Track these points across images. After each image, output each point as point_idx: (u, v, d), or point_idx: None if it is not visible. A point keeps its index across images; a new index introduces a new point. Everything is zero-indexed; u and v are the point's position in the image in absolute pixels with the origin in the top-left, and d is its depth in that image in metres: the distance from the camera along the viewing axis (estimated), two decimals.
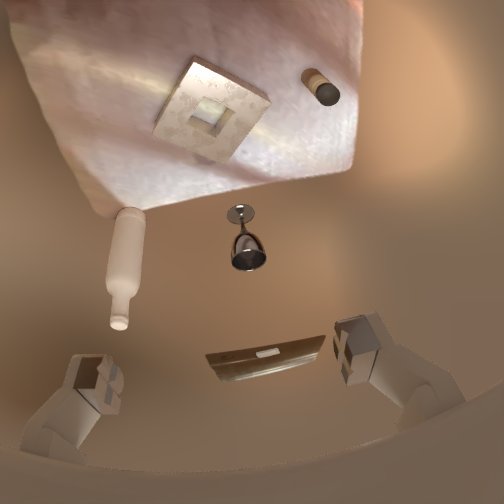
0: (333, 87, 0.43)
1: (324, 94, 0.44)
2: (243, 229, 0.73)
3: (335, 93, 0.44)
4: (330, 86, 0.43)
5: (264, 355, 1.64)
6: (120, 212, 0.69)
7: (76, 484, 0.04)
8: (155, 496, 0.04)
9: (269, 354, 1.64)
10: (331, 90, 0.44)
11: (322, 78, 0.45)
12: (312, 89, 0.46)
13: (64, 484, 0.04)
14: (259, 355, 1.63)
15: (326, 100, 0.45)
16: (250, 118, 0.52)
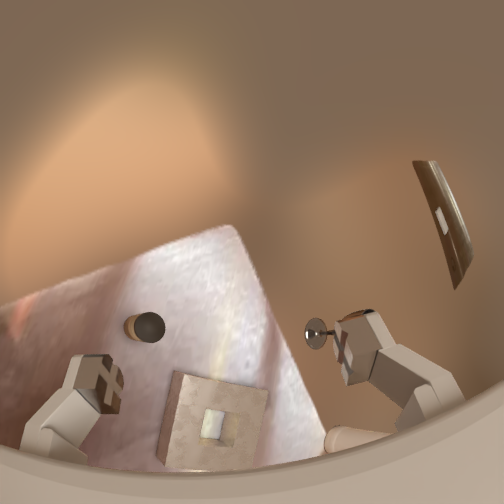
0: (137, 327, 0.36)
1: (151, 334, 0.36)
2: (334, 334, 0.60)
3: (144, 320, 0.36)
4: (137, 332, 0.35)
5: (445, 223, 1.30)
6: None
7: (76, 485, 0.04)
8: (155, 496, 0.04)
9: (443, 218, 1.30)
10: (142, 328, 0.36)
11: (131, 332, 0.38)
12: None
13: (64, 484, 0.04)
14: (446, 229, 1.29)
15: (157, 328, 0.37)
16: (208, 389, 0.43)
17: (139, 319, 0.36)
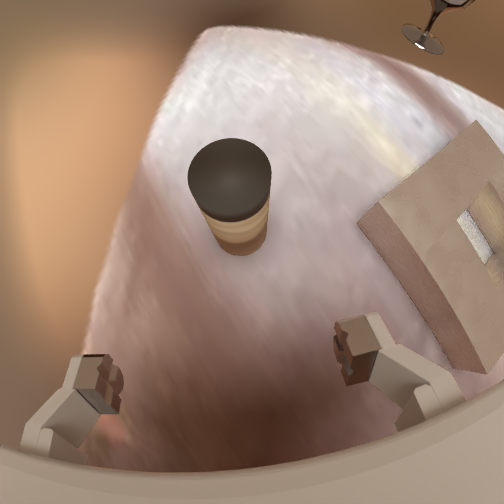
0: (204, 200, 0.14)
1: (244, 182, 0.14)
2: (438, 13, 0.23)
3: (203, 176, 0.14)
4: (214, 208, 0.14)
5: None
6: None
7: (76, 484, 0.04)
8: (155, 496, 0.04)
9: None
10: (216, 191, 0.14)
11: (224, 232, 0.17)
12: (267, 206, 0.17)
13: (64, 484, 0.04)
14: None
15: (242, 159, 0.14)
16: (428, 186, 0.19)
17: (192, 185, 0.14)
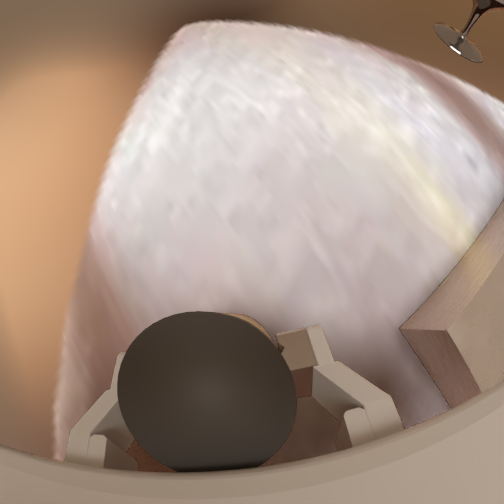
0: (159, 452, 0.06)
1: (238, 425, 0.06)
2: (481, 12, 0.15)
3: (149, 405, 0.06)
4: (181, 469, 0.05)
5: None
6: None
7: (76, 485, 0.04)
8: (155, 496, 0.04)
9: None
10: (179, 438, 0.06)
11: None
12: None
13: (64, 484, 0.04)
14: None
15: (231, 371, 0.06)
16: None
17: (130, 419, 0.06)
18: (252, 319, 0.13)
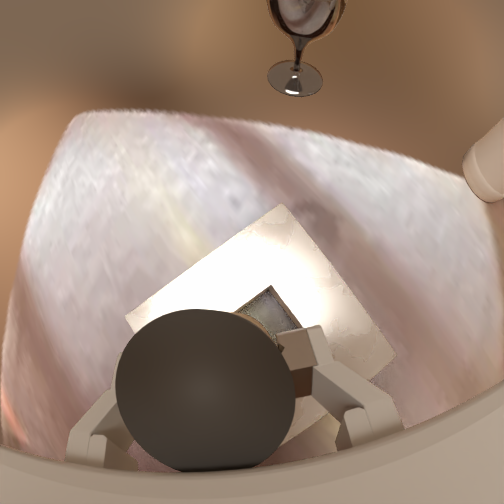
0: (157, 450, 0.06)
1: (236, 424, 0.06)
2: (299, 47, 0.27)
3: (147, 402, 0.06)
4: (179, 467, 0.05)
5: None
6: (496, 200, 0.29)
7: (76, 484, 0.04)
8: (155, 496, 0.04)
9: None
10: (177, 437, 0.06)
11: None
12: None
13: (64, 484, 0.04)
14: None
15: (229, 369, 0.06)
16: (176, 301, 0.23)
17: (128, 417, 0.06)
18: (252, 318, 0.13)
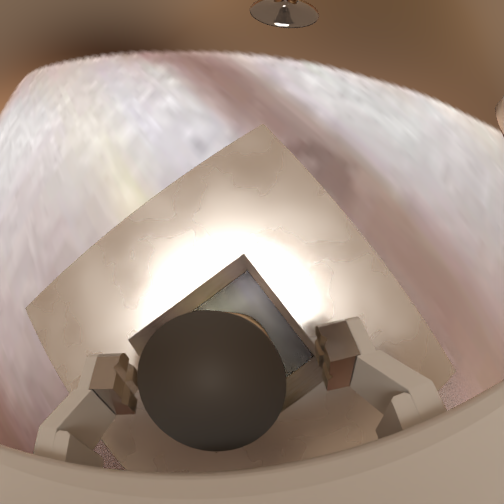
0: (172, 429, 0.07)
1: (238, 405, 0.07)
2: None
3: (164, 388, 0.07)
4: (190, 443, 0.07)
5: None
6: None
7: (76, 484, 0.04)
8: (155, 496, 0.04)
9: None
10: (189, 417, 0.07)
11: None
12: None
13: (64, 484, 0.04)
14: None
15: (232, 359, 0.07)
16: (89, 284, 0.13)
17: (148, 402, 0.07)
18: (251, 318, 0.15)
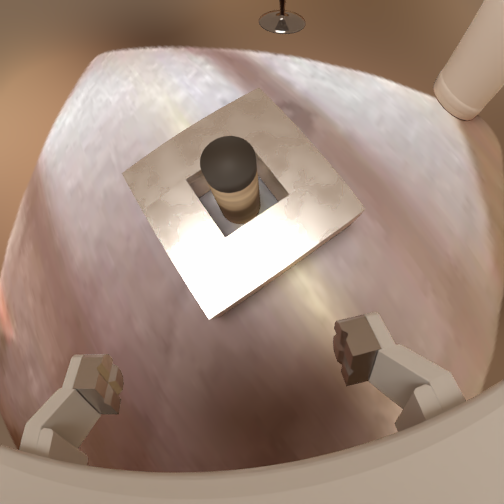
0: (211, 177, 0.20)
1: (237, 165, 0.21)
2: None
3: (210, 161, 0.21)
4: (217, 182, 0.20)
5: None
6: (468, 117, 0.30)
7: (76, 484, 0.04)
8: (155, 496, 0.04)
9: None
10: (218, 171, 0.21)
11: (225, 201, 0.24)
12: (256, 183, 0.23)
13: (64, 484, 0.04)
14: None
15: (237, 150, 0.21)
16: (166, 156, 0.26)
17: (203, 167, 0.21)
18: None
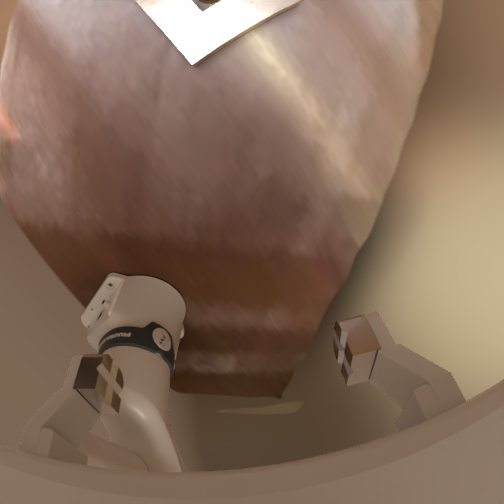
0: None
1: None
2: None
3: None
4: None
5: None
6: None
7: (76, 484, 0.04)
8: (155, 496, 0.04)
9: None
10: None
11: None
12: None
13: (64, 484, 0.04)
14: None
15: None
16: None
17: None
18: None
